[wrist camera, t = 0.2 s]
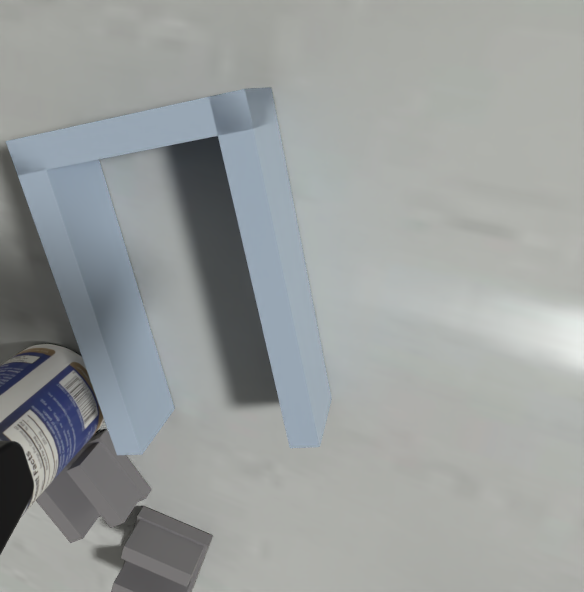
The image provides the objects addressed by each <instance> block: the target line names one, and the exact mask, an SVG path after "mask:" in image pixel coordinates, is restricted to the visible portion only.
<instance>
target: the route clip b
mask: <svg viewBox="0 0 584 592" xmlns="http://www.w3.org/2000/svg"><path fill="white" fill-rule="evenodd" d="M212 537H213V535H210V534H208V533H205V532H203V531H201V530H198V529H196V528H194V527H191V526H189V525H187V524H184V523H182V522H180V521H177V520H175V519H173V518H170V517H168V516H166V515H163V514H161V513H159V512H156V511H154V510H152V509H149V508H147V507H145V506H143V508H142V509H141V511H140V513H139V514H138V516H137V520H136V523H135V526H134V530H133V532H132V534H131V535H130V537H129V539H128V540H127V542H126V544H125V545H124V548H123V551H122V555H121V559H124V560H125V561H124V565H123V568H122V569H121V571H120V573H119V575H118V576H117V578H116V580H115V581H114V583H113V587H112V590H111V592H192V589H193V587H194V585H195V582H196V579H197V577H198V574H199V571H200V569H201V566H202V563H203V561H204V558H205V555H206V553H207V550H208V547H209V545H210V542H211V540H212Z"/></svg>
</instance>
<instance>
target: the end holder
mask: <svg viewBox="0 0 584 592" xmlns="http://www.w3.org/2000/svg"><path fill="white" fill-rule="evenodd" d="M214 136H218V138H219V143H220V147H221V151H222V156H223V160H224V164H225V169H226V173H227V177H228V182H229V186H230V190H231V195H232V199H233V203H234V208H235V212H236V216H237V221H238V225H239V229H240V234H241V238H242V242H243V247H244V251H245V255H246V260H247V264H248V268H249V273H250V277H251V281H252V286H253V290H254V294H255V299H256V303H257V308H258V312H259V316H260V321H261V325H262V329H263V334H264V338H265V342H266V347H267V351H268V355H269V360H270V364H271V368H272V373H273V377H274V381H275V386H276V390H277V394H278V399H279V403H280V407H281V412H282V416H283V420H284V425H285V429H286V433H287V438H288V442H289V446H290V448H306V447H320V444H321V440H322V436H323V432H324V428H325V424H326V420H327V416H328V412H329V408H330V404H331V400H332V398H331V393H330V387H329V382H328V377H327V372H326V367H325V362H324V357H323V351H322V346H321V341H320V336H319V331H318V326H317V321H316V315H315V310H314V305H313V300H312V295H311V290H310V285H309V279H308V274H307V269H306V264H305V259H304V254H303V248H302V243H301V238H300V233H299V228H298V223H297V218H296V212H295V207H294V202H293V197H292V192H291V187H290V182H289V176H288V171H287V166H286V161H285V156H284V151H283V146H282V140H281V135H280V130H279V125H278V120H277V115H276V109H275V104H274V99H273V94H272V89H271V87H269V88H251V89H242V90H237V91H233V92H228V93H224V94H219V95H215V96H210V97H205V98H201V99H196V100H192V101H187V102H183V103H178V104H173V105H169V106H164V107H160V108H155V109H151V110H146V111H142V112H137V113H132V114H128V115H123V116H119V117H114V118H110V119H105V120H100V121H96V122H91V123H87V124H82V125H78V126H73V127H69V128H64V129H59V130H55V131H50V132H46V133H41V134H37V135H32V136H27V137H23V138H18V139H14V140H9V141H6V144H7V146H8V149H9V152H10V155H11V158H12V161H13V163H14V166H15V169H16V172H17V175H18V177H19V180H20V183H21V186H22V189H23V192H24V194H25V197H26V200H27V203H28V206H29V208H30V211H31V214H32V217H33V220H34V223H35V225H36V228H37V231H38V234H39V237H40V239H41V242H42V245H43V248H44V251H45V254H46V256H47V259H48V262H49V265H50V268H51V270H52V273H53V276H54V279H55V282H56V285H57V287H58V290H59V293H60V296H61V299H62V301H63V304H64V307H65V310H66V313H67V316H68V318H69V321H70V324H71V327H72V330H73V332H74V335H75V338H76V341H77V344H78V347H79V349H80V352H81V355H82V358H83V361H84V363H85V366H86V369H87V372H88V375H89V378H90V380H91V383H92V386H93V389H94V392H95V394H96V397H97V400H98V403H99V406H100V409H101V411H102V414H103V417H104V420H105V423H106V425H107V428H108V431H109V434H110V437H111V440H112V442H113V445H114V448H115V451H116V454H117V455H138V454H143V452H144V451H145V450H146V448H147V447H148V445H149V444H150V443H151V441H152V440H153V438H154V437H155V436H156V434H157V433H158V432H159V430H160V429H161V427H162V426H163V425H164V423H165V422H166V420H167V419H168V418H169V416H170V415H171V413H172V412H173V411H174V409H175V408H174V405H173V401H172V398H171V395H170V392H169V388H168V385H167V382H166V378H165V375H164V372H163V369H162V365H161V362H160V359H159V355H158V352H157V349H156V346H155V342H154V339H153V336H152V332H151V329H150V326H149V322H148V319H147V316H146V313H145V309H144V306H143V303H142V299H141V296H140V293H139V290H138V286H137V283H136V280H135V276H134V273H133V270H132V267H131V263H130V260H129V257H128V253H127V250H126V247H125V243H124V240H123V237H122V234H121V230H120V227H119V224H118V220H117V217H116V214H115V211H114V207H113V204H112V201H111V197H110V194H109V191H108V188H107V184H106V181H105V178H104V174H103V171H102V168H101V164H100V161H99V159H103V158H108V157H114V156H119V155H124V154H129V153H134V152H139V151H144V150H149V149H154V148H159V147H164V146H169V145H174V144H179V143H184V142H189V141H194V140H199V139H204V138H209V137H214Z"/></svg>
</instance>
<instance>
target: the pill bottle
mask: <svg viewBox="0 0 584 592" xmlns="http://www.w3.org/2000/svg"><path fill="white" fill-rule="evenodd" d="M103 422H104V417H103V414H102V411H101V409H100V406H99V403H98V400H97V397H96V394H95V392H94V389H93V386H92V383H91V380H90V378H89V375H88V372H87V369H86V366H85V363H84V361H83V358H82V356H80V355H79V354H77V353H75V352H73V351H72V350H70V349H67V348H65V347H61V346H58V345H52V344H40V345H34V346H31V347H28V348H26V349H24V350H23V351H21V352H20V353H18V354H16V355H15V356H13V357H12V358H10V359H9V360H7V361H6V362H5V363H3V364H2V365H0V440H1V441H16V442H18V443H19V444H20V445H21V446H22V447H23V449H24V452H25V455H26V459H27V462H28V465H29V468H30V471H31V474H32V477H33V480H34V491H33V494H32V497H31V499H30V501H29V503H28V505H27V507H26V508H25V510H24V512H23V514H24V513H25V512H26V511H27V509H28V508H29V507H30V506H31V505H32V504H33V503H34V502H35V500H36V499H37V498H38V497H39V496H40V495H41V494H42V493H43V491H44V490H45V489H46V488H47V487H48V486H49V485H50V484H51V483H52V481H53V480H54V479H55V478H56V477H57V476H58V475H59V473H60V472H61V471H62V470H63V469H64V468H65V467H66V465H67V464H68V463H69V462H70V461H71V460H72V459H73V458H74V456H75V455H76V454H77V453H78V452H79V451H80V450H81V449H82V448H83V446H84V445H85V444H86V443H87V442H88V441H89V440H90V439H91V438H92V436H93V435H94V434H95V433H96V431H97V430H98V429H99V428H100V427H101V425H102V423H103ZM23 514H22V515H23ZM21 517H22V516H21Z"/></svg>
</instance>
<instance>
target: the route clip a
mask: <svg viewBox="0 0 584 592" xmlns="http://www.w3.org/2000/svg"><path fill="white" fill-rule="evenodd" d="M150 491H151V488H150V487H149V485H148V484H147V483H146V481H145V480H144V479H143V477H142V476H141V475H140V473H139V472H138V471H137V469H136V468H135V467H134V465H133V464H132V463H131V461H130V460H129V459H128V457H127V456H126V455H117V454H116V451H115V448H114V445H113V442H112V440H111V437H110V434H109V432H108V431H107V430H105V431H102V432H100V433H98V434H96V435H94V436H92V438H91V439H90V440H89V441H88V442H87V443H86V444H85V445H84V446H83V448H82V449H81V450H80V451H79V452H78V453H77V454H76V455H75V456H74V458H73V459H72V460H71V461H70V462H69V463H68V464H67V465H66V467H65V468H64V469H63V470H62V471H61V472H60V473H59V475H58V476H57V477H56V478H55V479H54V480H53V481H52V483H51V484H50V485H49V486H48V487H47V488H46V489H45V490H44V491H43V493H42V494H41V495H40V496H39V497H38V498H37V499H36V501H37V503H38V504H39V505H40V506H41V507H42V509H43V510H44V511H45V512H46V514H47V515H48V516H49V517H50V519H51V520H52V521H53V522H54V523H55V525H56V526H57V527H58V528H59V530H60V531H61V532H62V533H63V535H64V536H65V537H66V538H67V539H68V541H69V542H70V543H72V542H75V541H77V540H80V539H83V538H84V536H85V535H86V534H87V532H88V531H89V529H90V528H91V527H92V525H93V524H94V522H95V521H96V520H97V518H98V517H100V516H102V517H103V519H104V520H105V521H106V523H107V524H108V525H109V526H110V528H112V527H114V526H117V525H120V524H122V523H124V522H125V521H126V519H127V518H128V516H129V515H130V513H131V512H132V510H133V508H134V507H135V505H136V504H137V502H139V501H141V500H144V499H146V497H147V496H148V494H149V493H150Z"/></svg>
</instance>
